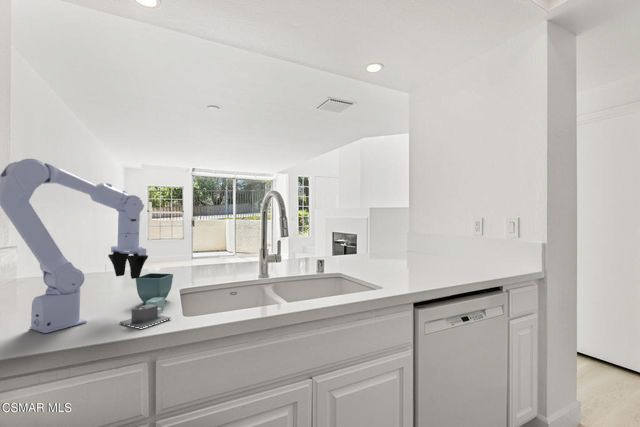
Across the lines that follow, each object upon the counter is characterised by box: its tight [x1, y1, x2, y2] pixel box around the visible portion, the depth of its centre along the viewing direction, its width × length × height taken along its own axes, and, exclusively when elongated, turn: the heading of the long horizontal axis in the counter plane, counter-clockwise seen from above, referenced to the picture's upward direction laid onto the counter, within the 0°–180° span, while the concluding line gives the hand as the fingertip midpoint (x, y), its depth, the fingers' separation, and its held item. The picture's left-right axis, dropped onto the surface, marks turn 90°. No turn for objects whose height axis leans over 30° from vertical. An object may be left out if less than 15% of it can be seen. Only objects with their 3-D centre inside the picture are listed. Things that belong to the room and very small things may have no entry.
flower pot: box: [135, 272, 174, 304], centre depth 107 cm, size 9×9×9 cm
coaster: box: [119, 314, 171, 328], centre depth 86 cm, size 9×9×1 cm
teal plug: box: [145, 297, 166, 310], centre depth 97 cm, size 8×3×4 cm, turn 4°
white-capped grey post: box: [130, 304, 163, 324], centre depth 86 cm, size 8×3×4 cm, turn 154°
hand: (127, 277), depth 97 cm, fingers open, 7 cm apart
